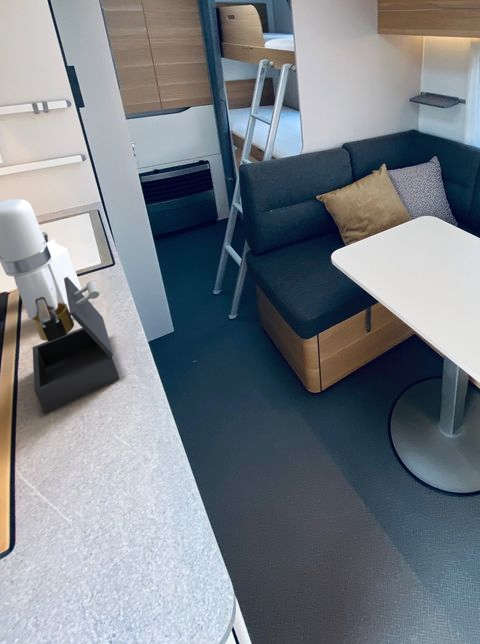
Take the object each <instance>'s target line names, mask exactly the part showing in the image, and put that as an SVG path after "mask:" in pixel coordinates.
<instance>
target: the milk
mask: <svg viewBox="0 0 480 644" xmlns="http://www.w3.org/2000/svg"><path fill="white" fill-rule="evenodd" d="M48 241H49V242H47V243H46V244H47V246H48V249H49V251H50V254H51V256H52V261H51V262H50V263H49V264H48V265H47V266H48V268H49V271H50V273H51V276H52V278H53V281H54V285H55V289H56V294H57V302H58V303H65V304H67V307H68V309H69V305H68V299H67V294H66V288H65V282H64V278H66V277H68V278H69V279H70V280H71V281H72V282H73V284H74V285H75V286H76V287H77V288H78V289H79V290H81V289H82V288H83V287H82V286H81V283H80V280H79V277H78V275H77V271H76V269H75V267H74V264H73V261H72V259H71V255H70V253H69V250H68V248H66V247H64V246H62V245H61V244H58V243H57V242H56V240H55V239H54V238H52V239H51V240H48ZM82 294H83V295H84V296H85V294H84V292H83V293H82ZM69 312H70V311H69ZM71 317H72V316H71ZM72 319H74V318H73V317H72Z"/></svg>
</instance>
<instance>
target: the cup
mask: <svg viewBox="0 0 480 644" xmlns="http://www.w3.org/2000/svg"><path fill="white" fill-rule="evenodd" d="M47 308H48V310H49V309H52V307H47ZM56 313H57V316H58V318H59V319H61V321H62V323H63V326H64V328H65V331H66V334H67V333H70V332H72V331H73V330H72V329H74V327H75V322H74V318H72V317H71V315H70V312H69V309H68V307H67V304H65V303H58V308H57V309H56ZM49 314H50V316H53V313H52V312H51V313H49ZM53 317H54V316H53ZM31 321H32V323H33V325H34V328H35V330H36V332H37V334H38V337H39V338H40V339H41V340H42V341H45V342H47V341H48V340H47V338H46V335H45V333H44V331H43V329H42V324H41V321H40V319H39V316H38V313H37V316H36V317H34V318H33V319H31Z"/></svg>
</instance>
